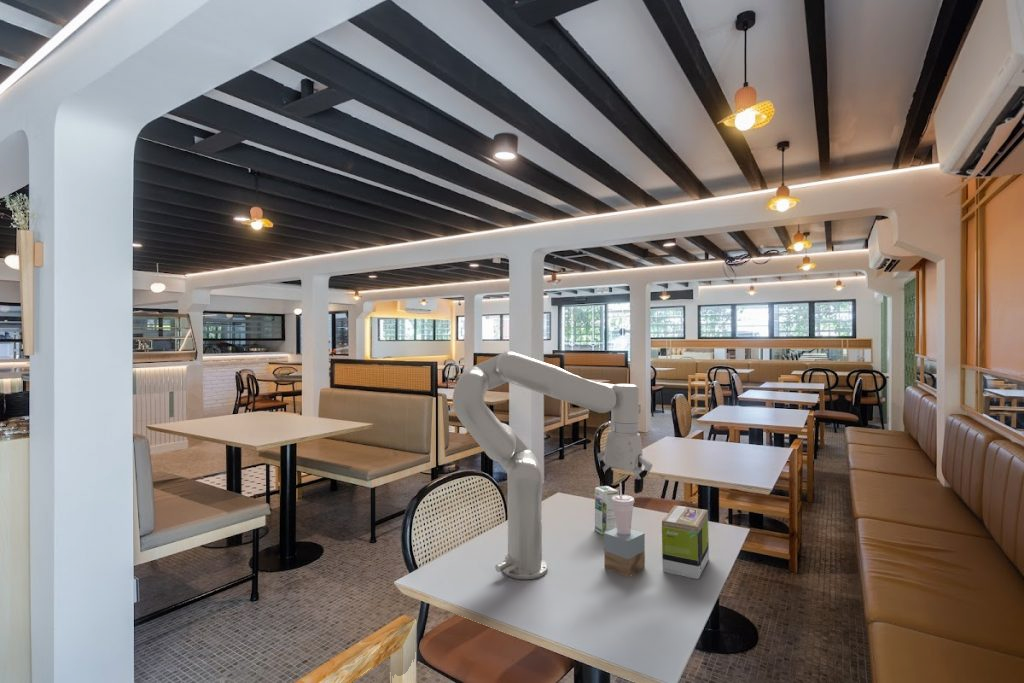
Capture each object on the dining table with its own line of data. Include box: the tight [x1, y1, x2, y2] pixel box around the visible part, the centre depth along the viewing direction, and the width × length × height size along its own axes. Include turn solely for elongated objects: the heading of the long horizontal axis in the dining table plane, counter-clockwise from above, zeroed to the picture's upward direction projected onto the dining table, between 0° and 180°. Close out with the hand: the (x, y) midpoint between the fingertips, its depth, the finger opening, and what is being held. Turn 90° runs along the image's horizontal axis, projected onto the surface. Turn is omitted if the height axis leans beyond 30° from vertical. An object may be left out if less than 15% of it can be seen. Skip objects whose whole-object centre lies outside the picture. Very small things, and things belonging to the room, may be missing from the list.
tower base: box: [604, 551, 646, 578], centre depth 147 cm, size 8×8×5 cm
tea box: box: [661, 504, 710, 580], centre depth 148 cm, size 15×10×15 cm, turn 149°
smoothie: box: [611, 481, 635, 535], centre depth 147 cm, size 6×6×14 cm
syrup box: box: [594, 485, 619, 537], centre depth 173 cm, size 6×6×14 cm
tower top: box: [603, 528, 646, 559], centre depth 147 cm, size 8×8×5 cm
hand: (623, 488), depth 147 cm, fingers open, 9 cm apart
